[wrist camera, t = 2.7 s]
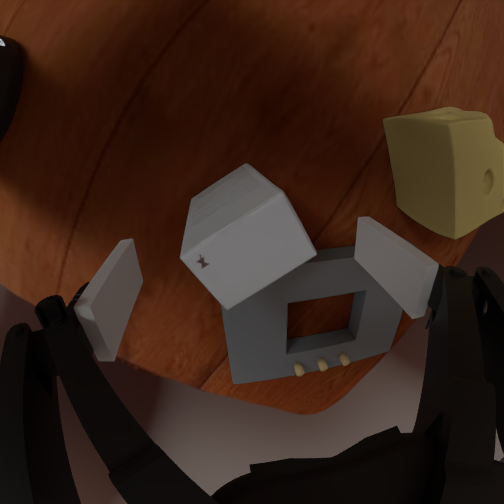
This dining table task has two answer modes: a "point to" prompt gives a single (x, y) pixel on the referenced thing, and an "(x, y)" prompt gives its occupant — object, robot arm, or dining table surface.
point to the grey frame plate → (314, 346)
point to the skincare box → (243, 236)
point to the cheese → (446, 169)
